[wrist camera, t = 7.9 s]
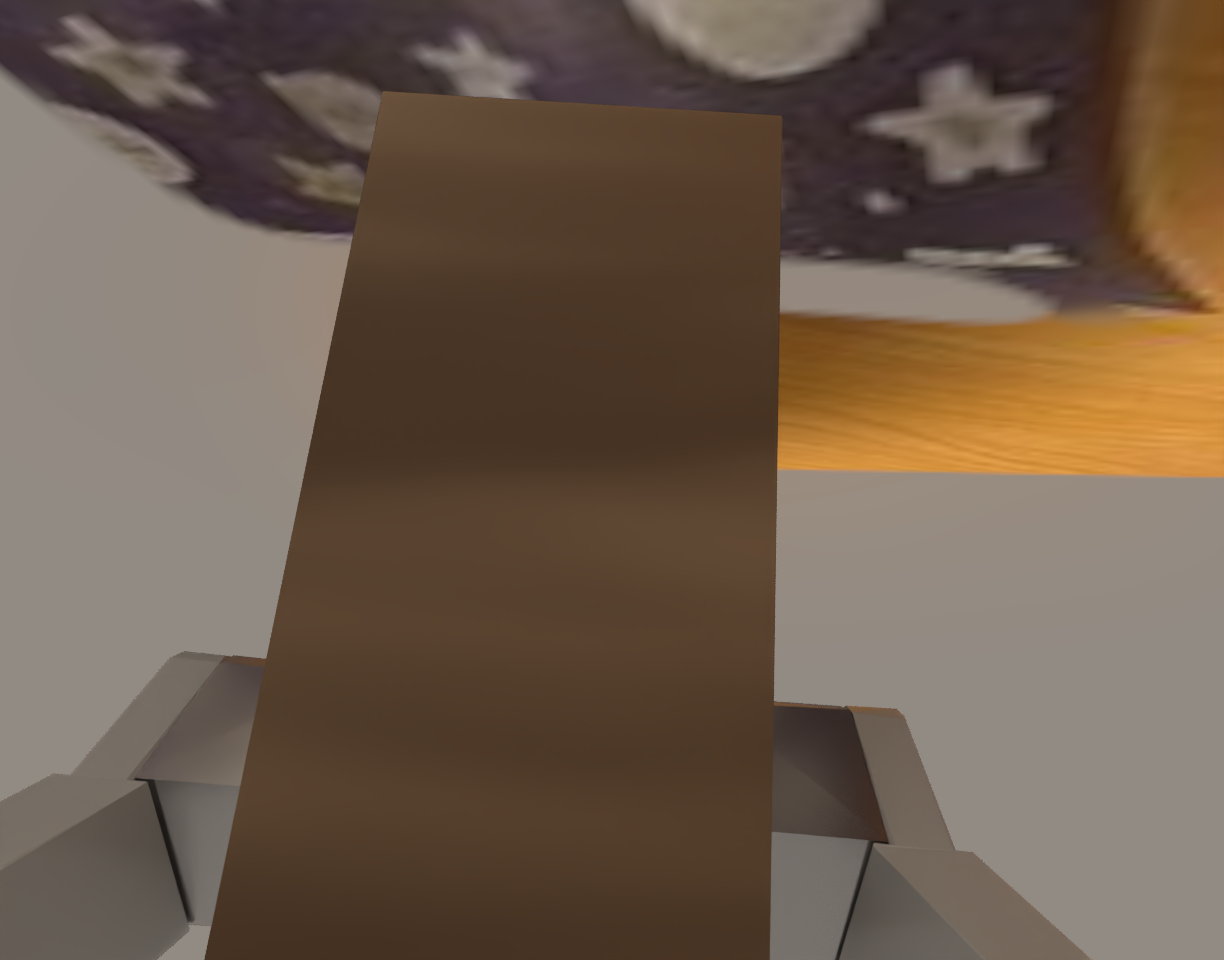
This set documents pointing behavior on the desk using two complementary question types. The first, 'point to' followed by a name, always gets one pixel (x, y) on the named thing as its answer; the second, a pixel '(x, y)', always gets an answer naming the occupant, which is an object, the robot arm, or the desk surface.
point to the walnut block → (530, 555)
